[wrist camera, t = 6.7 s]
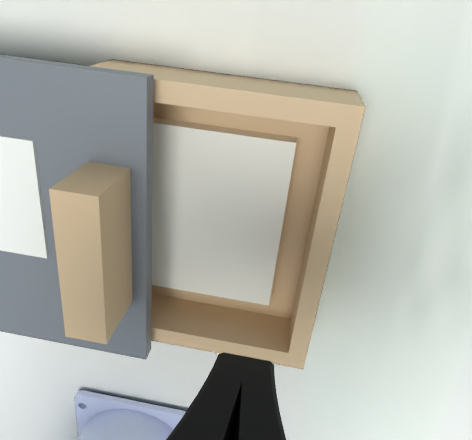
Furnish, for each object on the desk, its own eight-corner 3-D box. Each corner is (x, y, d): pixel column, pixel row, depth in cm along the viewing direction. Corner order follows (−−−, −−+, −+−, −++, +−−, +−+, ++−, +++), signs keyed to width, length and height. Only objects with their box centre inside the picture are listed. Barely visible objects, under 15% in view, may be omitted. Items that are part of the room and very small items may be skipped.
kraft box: (303, 326, 22) (303, 369, 20) (120, 292, 23) (95, 329, 20) (356, 90, 17) (365, 106, 14) (112, 59, 18) (77, 68, 15)
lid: (151, 348, 20) (124, 406, 17) (-53, 309, 21) (-112, 358, 18) (153, 74, 14) (114, 91, 11) (-127, 37, 15) (-229, 45, 12)
